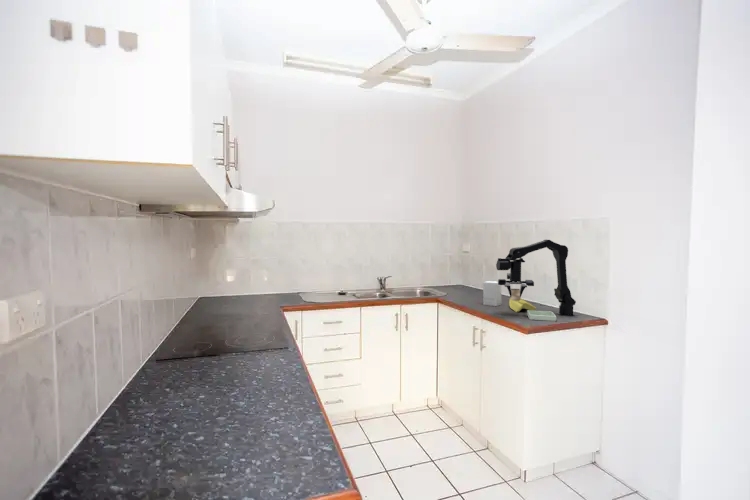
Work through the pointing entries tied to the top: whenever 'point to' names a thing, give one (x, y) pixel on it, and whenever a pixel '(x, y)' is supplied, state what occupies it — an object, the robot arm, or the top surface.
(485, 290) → the supplement box
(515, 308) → the plastic component
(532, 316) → the tray
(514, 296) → the beech block
